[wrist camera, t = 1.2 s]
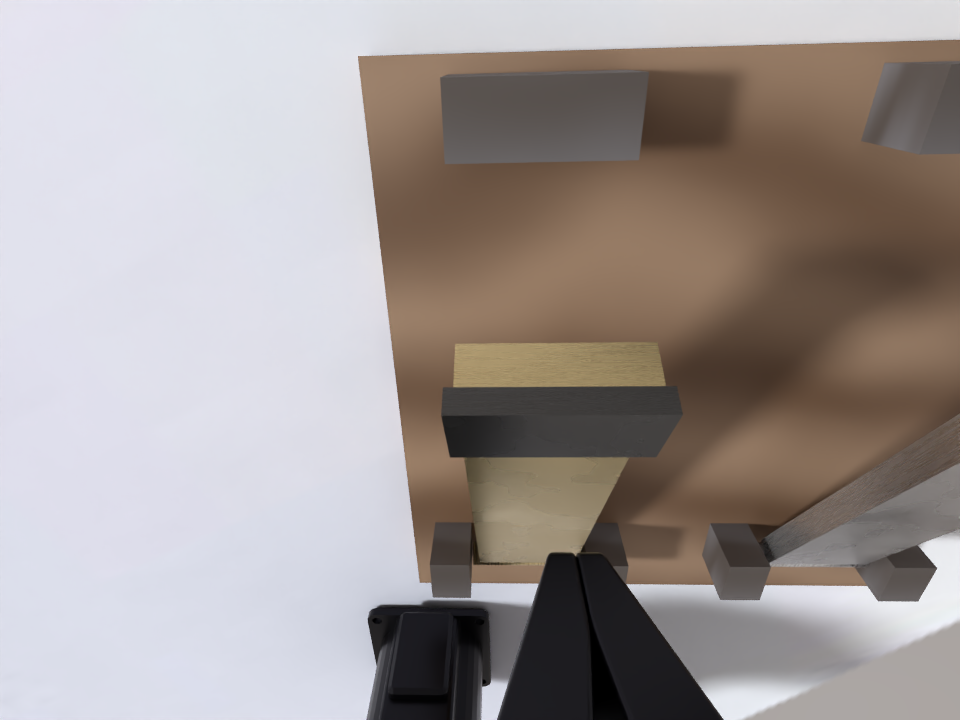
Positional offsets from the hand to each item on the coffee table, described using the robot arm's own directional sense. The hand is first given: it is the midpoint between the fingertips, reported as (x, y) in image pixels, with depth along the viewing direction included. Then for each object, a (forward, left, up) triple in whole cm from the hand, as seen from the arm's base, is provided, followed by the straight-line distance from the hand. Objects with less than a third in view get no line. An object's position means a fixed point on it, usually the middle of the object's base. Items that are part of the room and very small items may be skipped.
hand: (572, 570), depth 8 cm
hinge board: (-4, -6, -13) cm, 15 cm away
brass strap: (-5, 0, -8) cm, 9 cm away
